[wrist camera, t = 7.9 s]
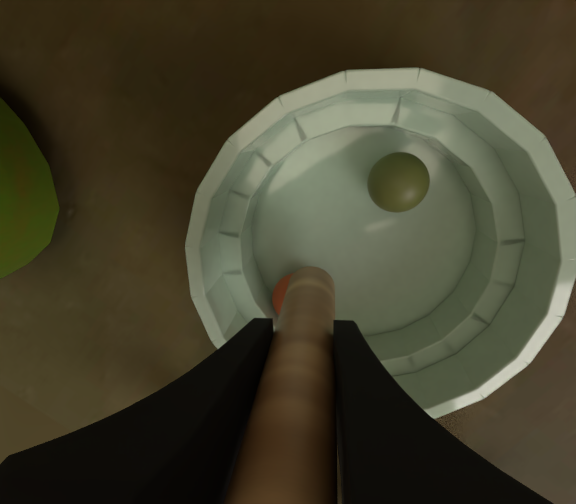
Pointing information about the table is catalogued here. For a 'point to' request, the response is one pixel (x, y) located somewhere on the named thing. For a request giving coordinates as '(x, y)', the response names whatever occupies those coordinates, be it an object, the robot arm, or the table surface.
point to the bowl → (394, 227)
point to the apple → (23, 195)
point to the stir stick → (294, 405)
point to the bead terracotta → (280, 292)
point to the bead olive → (398, 182)
